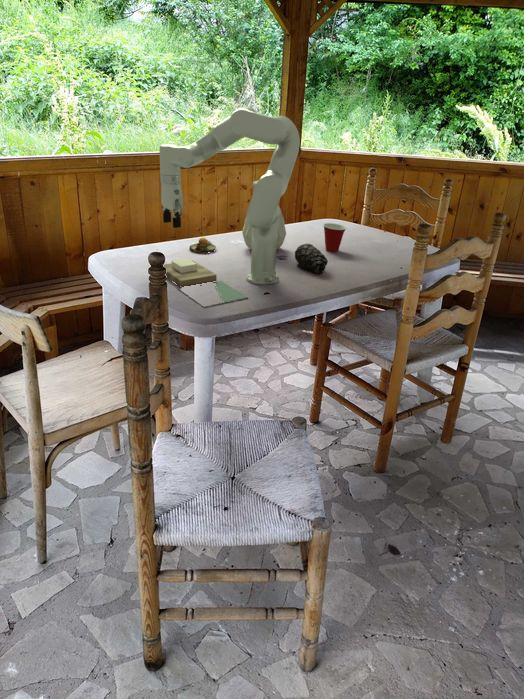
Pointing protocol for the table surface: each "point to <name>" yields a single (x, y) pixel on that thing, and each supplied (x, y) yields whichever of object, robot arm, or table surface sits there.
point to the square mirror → (228, 292)
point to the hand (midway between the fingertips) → (172, 224)
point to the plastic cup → (333, 236)
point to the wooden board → (190, 275)
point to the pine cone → (310, 259)
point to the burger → (203, 246)
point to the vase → (248, 229)
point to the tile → (184, 265)
